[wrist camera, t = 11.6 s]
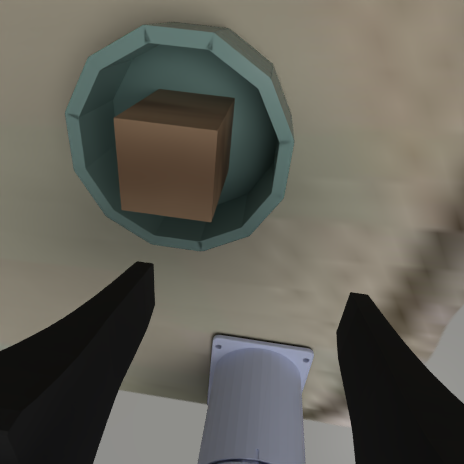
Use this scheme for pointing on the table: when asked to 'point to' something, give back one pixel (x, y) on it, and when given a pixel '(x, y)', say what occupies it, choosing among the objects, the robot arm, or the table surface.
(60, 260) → the table surface
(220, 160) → the walnut block
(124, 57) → the teal bowl
